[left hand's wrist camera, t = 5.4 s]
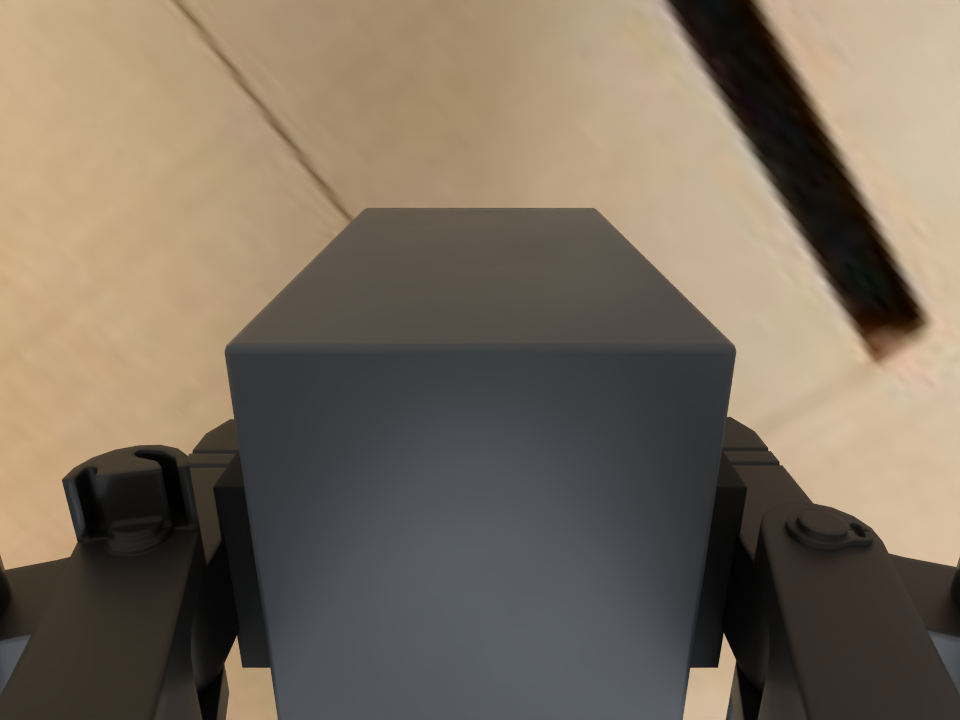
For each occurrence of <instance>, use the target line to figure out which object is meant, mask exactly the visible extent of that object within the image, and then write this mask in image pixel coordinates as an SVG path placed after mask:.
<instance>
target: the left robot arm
mask: <svg viewBox="0 0 960 720" xmlns="http://www.w3.org/2000/svg"><path fill="white" fill-rule="evenodd" d="M62 482H63V486H64V490H65V494H66V498H67V502H68V506H69V510H70V514H71V517H72V521H73V525H74V529H75V533H76V537H77V541H78V543H77V545H76V547H75V549H74V551H73V553H72V555H71V557H68V558H64V559H60V560H55V561H50V562H45V563H40V564H34V565H29V566H24V567H19V568H14V569H8V570H5V569H4V566H3V563H2V559H1V556H0V720H226V713H227V705H228V697H229V690H228V683H227V676H226V671H225V665H224V663H225V661H226V658H227V656H228V654H229V652H230V650H231V647H232V645H233V643H234V641H235V638H236V636H237V637H238V643H239V649H240V655H241V661H242V667H243V668H271V667H270V661H269V654H268V647H267V640H266V633H265V626H264V619H263V612H262V605H261V599H260V592H259V585H258V578H257V571H256V564H255V557H254V550H253V543H252V537H251V530H250V523H249V516H248V509H247V502H246V495H245V488H244V481H243V475H242V468H241V461H240V454H239V447H238V440H237V433H236V426H235V419H230V420H228V421H227V422H225V423H223V424H222V425H220V426H218V427H217V428H215V429H213V430H212V431H210V432H208V433H207V434H206V435H205V436H204V437H203V438H202V440H201V441H200V442H199V443H198V445H197V446H196V447H195V448H194V450H193V454H189V456H187V455H186V454H184V453H183V452H182V451H180V450H179V449H177V448H173V447H168V446H163V445H139V446H133V447H128V448H122V449H117V450H113V451H111V452H108V453H105V454H102V455H99V456H96V457H93V458H91V459H89V460H87V461H86V462H84V463H82V464H80V465H78V466H77V467H75V468H73V469H72V470H71V471H70V472H69V473H68V474H67V475H66V476H65V477H64V478H63V479H62ZM723 634H725V636H726V638H727V641H728V643H729V645H730V647H731V649H732V652H733V654H734V656H735V658H736V665H735V671H734V676H733V682H732V688H731V693H730V699H729V705H728V710H727V716H726V720H960V558H959V561H958V565H957V567H953V566H947V565H942V564H937V563H932V562H926V561H921V560H916V559H911V558H905V557H901V556H897V555H893V554H889V553H888V551H887V549H886V547H885V545H884V543H883V541H882V540H881V539H880V538H879V537H878V535H877V534H876V533H875V532H874V531H873V529H872V528H871V527H869V526H868V525H866V524H865V523H863V522H861V521H860V520H858V519H857V518H855V517H854V516H852V515H849V514H847V513H844V512H842V511H839V510H837V509H834V508H832V507H827V506H822V505H818V504H813V503H812V501H811V500H810V499H809V498H808V496H807V495H806V494H805V493H804V491H803V490H802V489H801V488H800V487H799V485H798V484H797V483H796V482H795V480H794V479H793V478H792V477H791V476H790V474H789V473H788V472H787V471H786V469H785V468H784V467H783V466H782V465H779V461H778V460H777V458H776V457H775V456H774V455H773V453H772V452H771V451H768V447H767V446H766V445H765V444H764V442H763V441H762V440H761V439H760V437H759V436H758V435H757V434H756V433H755V431H753V430H751V429H750V428H748V427H746V426H745V425H743V424H741V423H740V422H738V421H736V420H735V419H733V418H731V417H727V418H726V425H725V432H724V439H723V446H722V453H721V459H720V466H719V473H718V480H717V487H716V494H715V501H714V507H713V514H712V521H711V528H710V535H709V542H708V549H707V555H706V562H705V569H704V576H703V583H702V590H701V597H700V603H699V610H698V617H697V624H696V631H695V638H694V645H693V651H692V658H691V665H690V668H718V664H719V658H720V652H721V646H722V640H723Z"/></svg>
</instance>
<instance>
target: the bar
mask: <svg viewBox="0 0 960 720" xmlns="http://www.w3.org/2000/svg"><path fill="white" fill-rule="evenodd" d="M735 356H736V349H735V346H734V345H733V344H732V343H731V342H730V341H729V340H728V339H727V338H726V337H725V336H724V335H723V334H722V333H721V332H720V331H719V330H718V329H717V328H716V327H715V326H714V325H713V324H712V323H711V322H710V321H709V320H708V319H707V318H706V317H705V316H704V315H703V314H702V313H701V312H700V311H699V310H698V309H697V308H696V307H695V306H694V305H693V304H692V303H691V302H690V301H689V300H688V299H687V298H686V297H685V296H684V295H683V294H682V293H681V292H680V291H679V290H678V289H676V288H675V287H674V286H673V285H672V284H671V283H670V282H669V281H668V280H667V279H666V278H665V277H664V276H663V275H662V274H661V273H660V272H659V271H658V270H657V269H656V268H655V267H654V266H653V265H652V264H651V263H650V262H649V261H648V260H647V259H646V258H645V257H644V256H643V255H642V254H641V253H640V252H639V251H638V250H637V249H636V248H635V247H634V246H633V245H632V244H631V243H630V242H629V241H628V240H627V239H626V238H625V237H624V236H623V235H622V234H621V233H620V232H619V231H618V230H617V229H616V228H615V227H613V226H612V225H611V224H610V223H609V222H608V221H607V220H606V219H605V218H604V217H603V216H602V215H601V214H600V213H599V212H598V211H597V210H596V209H594V208H366V209H364V210H363V211H362V212H361V213H360V214H359V215H358V216H357V217H356V218H355V219H354V220H353V221H352V222H351V223H350V224H349V225H348V226H347V227H346V228H345V229H344V230H343V231H342V232H341V233H340V234H339V235H338V236H337V237H336V238H335V239H334V240H333V241H332V242H331V243H330V244H329V245H328V246H327V247H326V248H325V249H324V250H323V251H322V252H321V253H320V254H319V255H318V256H317V257H316V258H315V259H314V260H313V261H311V262H310V263H309V264H308V265H307V266H306V267H305V268H304V269H303V270H302V271H301V272H300V273H299V274H298V275H297V276H296V277H295V278H294V279H293V280H292V281H291V282H290V283H289V284H288V285H287V286H286V287H285V288H284V289H283V290H282V291H281V292H280V293H279V294H278V295H277V296H276V297H275V298H274V299H273V300H272V301H271V302H270V303H269V304H268V305H267V306H266V307H265V308H264V309H263V310H262V311H261V312H260V313H259V314H258V315H257V316H256V317H255V318H254V319H253V320H252V321H251V322H250V323H249V324H248V325H247V326H246V327H245V328H244V329H243V330H242V331H241V332H240V333H239V334H238V335H237V336H236V337H235V338H234V339H233V340H231V341H230V342H229V343H228V344H227V345H226V349H225V357H226V364H227V371H228V378H229V385H230V392H231V399H232V406H233V413H234V419H235V426H236V433H237V440H238V447H239V454H240V461H241V468H242V475H243V481H244V488H245V495H246V502H247V509H248V516H249V523H250V530H251V537H252V543H253V550H254V557H255V564H256V571H257V578H258V585H259V592H260V599H261V605H262V612H263V619H264V626H265V633H266V640H267V647H268V654H269V661H270V667H271V674H272V681H273V688H274V695H275V702H276V709H277V716H278V720H683V713H684V706H685V699H686V693H687V686H688V679H689V672H690V665H691V658H692V651H693V645H694V638H695V631H696V624H697V617H698V610H699V603H700V597H701V590H702V583H703V576H704V569H705V562H706V555H707V549H708V542H709V535H710V528H711V521H712V514H713V507H714V501H715V494H716V487H717V480H718V473H719V466H720V459H721V453H722V446H723V439H724V432H725V425H726V418H727V411H728V405H729V398H730V391H731V384H732V377H733V370H734V363H735Z"/></svg>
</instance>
